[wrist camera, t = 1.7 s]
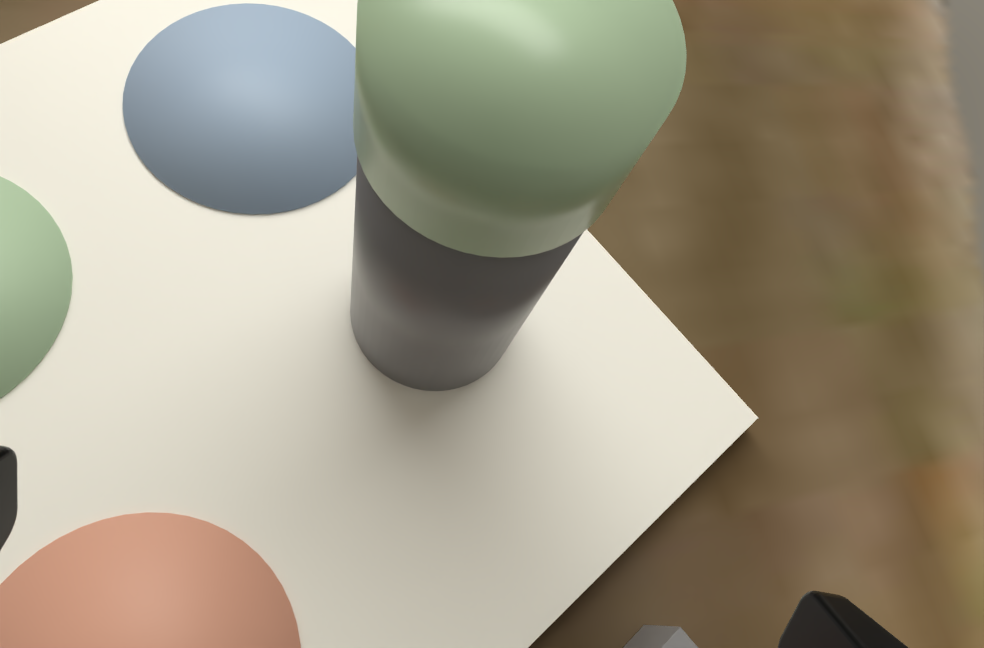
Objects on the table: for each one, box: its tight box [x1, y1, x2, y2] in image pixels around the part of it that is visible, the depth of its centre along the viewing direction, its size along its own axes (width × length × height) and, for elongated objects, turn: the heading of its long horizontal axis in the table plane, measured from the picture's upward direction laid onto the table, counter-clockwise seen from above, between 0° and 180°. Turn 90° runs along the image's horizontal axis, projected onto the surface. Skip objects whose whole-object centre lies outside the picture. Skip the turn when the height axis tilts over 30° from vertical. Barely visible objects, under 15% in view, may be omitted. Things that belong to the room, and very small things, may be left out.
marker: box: [350, 0, 686, 391], centre depth 17 cm, size 5×5×12 cm
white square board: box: [0, 0, 758, 648], centre depth 22 cm, size 24×24×1 cm
